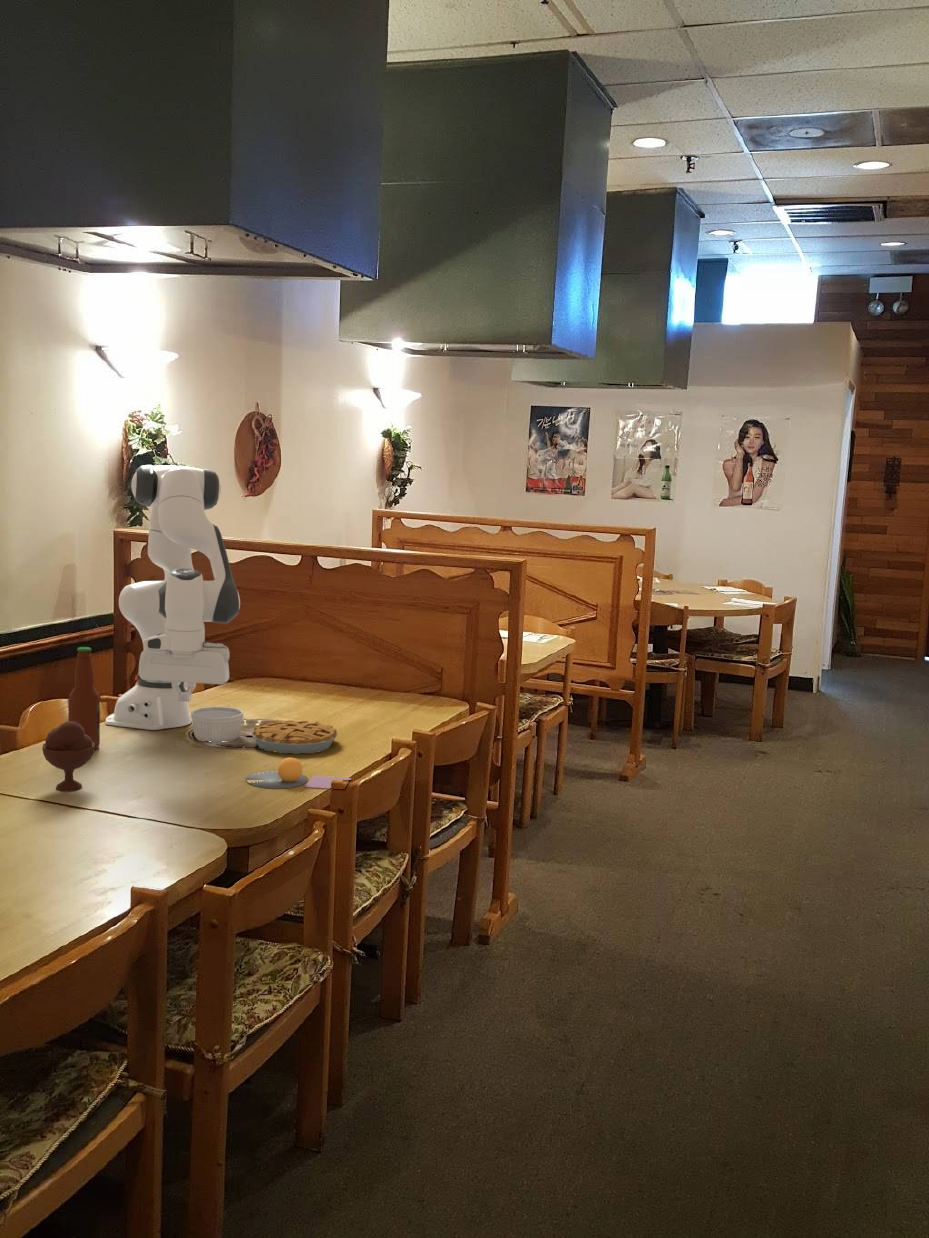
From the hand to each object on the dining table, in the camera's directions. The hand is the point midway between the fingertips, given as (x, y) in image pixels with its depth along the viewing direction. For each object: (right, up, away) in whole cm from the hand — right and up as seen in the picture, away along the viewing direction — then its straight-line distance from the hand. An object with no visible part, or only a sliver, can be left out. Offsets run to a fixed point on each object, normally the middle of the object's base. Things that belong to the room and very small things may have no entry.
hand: (183, 700), depth 253 cm
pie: (+20, -14, +33) cm, 41 cm away
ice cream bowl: (-22, -18, -12) cm, 31 cm away
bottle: (-30, -13, +20) cm, 38 cm away
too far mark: (+33, -19, 0) cm, 38 cm away
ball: (+24, -16, 0) cm, 29 cm away
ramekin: (-1, -13, +36) cm, 38 cm away
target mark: (+21, -18, +1) cm, 28 cm away
